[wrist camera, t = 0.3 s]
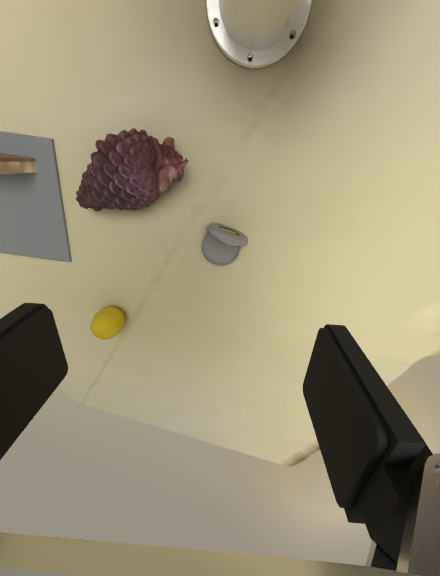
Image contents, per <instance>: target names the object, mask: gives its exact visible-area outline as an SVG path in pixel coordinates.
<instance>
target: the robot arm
mask: <svg viewBox="0 0 440 576" xmlns="http://www.w3.org/2000/svg"><path fill="white" fill-rule="evenodd" d="M311 4H312V0H206V8H207V16H208V21H209V25H210V29H211V31H212V34H213V37H214V39H215V41H216V43H217V44H218V46H219V48H220V49H221V50H222V52H223V53H224V54H225V55H226V56H227V57H228V58H229V59H230V60H232V61H233V62H234V63H236V64H238V65H240V66H243V67H247V68H262V67H266V66H269V65H271V64H273V63H275V62H277V61H279V60H280V59H281V58H282V57H283V56H285V55H286V54H287V53H288V52H289V51H290V49H291V48H292V47H293V46H294V45H295V43H296V41H297V40H298V38H299V37H300V35H301V33H302V31H303V29H304V27H305V24H306V22H307V19H308V16H309V13H310V9H311ZM215 24H218V27H215ZM290 35H292V36H293V39H290ZM249 58H251V59H252V61H251V62H249V61H248V59H249ZM67 371H68V365H67V361H66V358H65V354H64V351H63V348H62V344H61V341H60V337H59V334H58V331H57V327H56V324H55V320H54V317H53V313H52V311H51V310H50V309H48V307H47V306H46V305H44V304H36V303H24V304H22V305H20V306H19V307H17V308H16V309H14V310H13V311H11V312H10V313H8V314H7V315H6V316H4V317H3V318H1V319H0V459H1V458H2V457H3V456H4V454H5V453H6V452H7V451H8V449H9V448H10V447H11V445H12V444H13V443H14V441H15V440H16V439H17V438H18V436H19V435H20V434H21V433H22V431H23V430H24V429H25V428H26V426H27V425H28V424H29V422H30V421H31V420H32V419H33V417H34V416H35V415H36V413H37V412H38V411H39V410H40V408H41V407H42V406H43V404H44V403H45V402H46V401H47V399H48V398H49V397H50V395H51V394H52V393H53V392H54V390H55V389H56V388H57V386H58V385H59V384H60V383H61V381H62V380H63V379H64V377H65V376H66V374H67ZM303 394H304V398H305V401H306V404H307V407H308V411H309V414H310V417H311V420H312V424H313V427H314V430H315V433H316V437H317V440H318V443H319V447H320V450H321V453H322V456H323V460H324V463H325V465H326V469H327V473H328V476H329V479H330V482H331V486H332V489H333V492H334V495H335V498H336V501H337V503H338V505H339V506H340V507H341V508H344V509H345V513H346V516H347V519H348V522H351V523H365V524H366V527H367V530H368V532H369V535H370V538H371V539H372V543H371V547H370V551H369V554H368V558H367V562H366V566H358V565H349V564H340V563H332V562H322V561H314V560H305V559H296V558H286V557H275V556H264V555H253V554H242V553H230V552H220V551H208V550H197V549H186V548H175V547H163V546H152V545H140V544H128V543H116V542H105V541H94V540H93V541H92V540H82V539H69V538H58V537H45V536H34V535H33V536H32V535H22V534H10V533H0V576H440V454H432V452H431V451H430V449H429V448H428V446H427V445H426V443H425V442H424V440H423V438H422V437H421V436H420V434H419V433H418V431H417V430H416V428H415V427H414V425H413V424H412V422H411V421H410V420H409V418H408V417H407V415H406V414H405V412H404V411H403V409H402V408H401V406H400V405H399V404H398V402H397V401H396V399H395V398H394V396H393V395H392V393H391V392H390V390H389V389H388V388H387V386H386V385H385V383H384V382H383V380H382V379H381V377H380V376H379V374H378V373H377V372H376V370H375V369H374V367H373V366H372V364H371V363H370V361H369V360H368V358H367V357H366V356H365V354H364V353H363V351H362V350H361V348H360V347H359V345H358V344H357V342H356V341H355V340H354V338H353V337H352V335H351V334H350V332H349V331H348V329H347V328H346V327H345V326H343V325H329V324H327V325H325V326H324V328H320V329H319V331H318V334H317V338H316V341H315V344H314V348H313V351H312V355H311V358H310V362H309V365H308V369H307V372H306V376H305V379H304V383H303Z"/></svg>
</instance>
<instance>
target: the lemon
mask: <svg viewBox="0 0 440 576" xmlns="http://www.w3.org/2000/svg"><path fill="white" fill-rule="evenodd" d="M124 322H125V318H124V314H123V313H122V311H121V310H119V309H118V308H115V307H106V308H103V309H101V310H100V311H99V312H98V313H97V314H96V315H95V316H94V318H93V320H92V323H91V330H92V332H93V334H94V335H95V336H96V337H98V338H100V339H110V338H113V337H114V336H116V335H117V334H118V333H119V332H120V331H121V330H122V328H123V326H124Z"/></svg>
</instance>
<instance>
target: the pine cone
mask: <svg viewBox="0 0 440 576" xmlns="http://www.w3.org/2000/svg"><path fill="white" fill-rule="evenodd" d="M95 144H96V148H97V149H98V152H94V153H92V154H91V160H92V163H90V164H89V165H87V171H86V172H84V173H83V174H82V180H81V185H80V187H79V191H77V192H76V194H77V195H78V196H77V197H76V200H77V201H78V202H79V205H80V206H81V207H84V208H86V209H88V208H92V209H94V210H95V211H99V210H101V209H103V208H106V209H108V208H110V209H114V208H118V209H120V210H123V209H124V210H135V211H137V210H138V209H142V208H143V207H147V206H149V205H150V204H151V203H153V202H154V201H155V200H157V199H158V198H159V196H160V195H161V194H162V193H164V192H165V191H169V190H171V182H173V180H174V179H175V180H176V181H178V182H179V181H180V180H181V179H182V178H183V174H184V167H185V165H186V164H187V162H188V160H187V158H186V159H185V160H184V161H183V157H182V156H181V155H179V154H178V152H177V151H175V147H174V139H173V138H171V137H167V138H165V139H164V142H163V144H161V145H160V144H159V142H158V139H156V138H153V137H152V136H148V135H147V133H146V131H144V130H141V131H140V132H137V130H136V129H131V130H130V131H129V132H127V131H125V130H124V131H122V132H120V133H119V134H118V135H115V134H108V135H107V136H106V139H105V141H102V140H97V141H96V143H95Z"/></svg>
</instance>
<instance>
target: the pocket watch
mask: <svg viewBox="0 0 440 576" xmlns="http://www.w3.org/2000/svg"><path fill="white" fill-rule="evenodd" d="M207 229H208V231H209V233H208V234H207V235H206V237H205V238H204V240H203V244H202V251H203V254H204V256H205V258H206V259H207V260H208V261H209V262H211V263H212V264H215V265H218V266H224V265H228V264H230V263H232V262H233V261H234V260H235V259H236V258H237V257H238V255H239V251H240V246H245V245H247V243H248V238H247V237H246V236H245V235H244V234H243V233H241V232H239V231H238V230H236V229H234V228H231V227H228V226H226V225H223V224H218V223H210V225H209V226H208V228H207Z"/></svg>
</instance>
